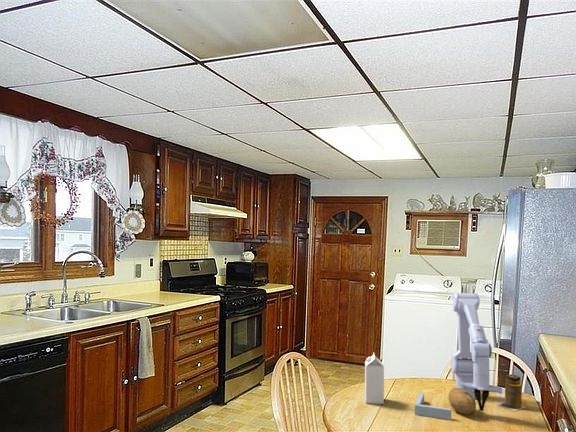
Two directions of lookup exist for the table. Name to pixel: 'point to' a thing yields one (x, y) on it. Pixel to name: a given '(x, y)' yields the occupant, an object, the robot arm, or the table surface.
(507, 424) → the table surface
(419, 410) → the corner walls
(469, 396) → the potato
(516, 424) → the table surface
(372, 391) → the milk carton
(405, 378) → the table surface
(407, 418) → the table surface
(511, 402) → the condiment
